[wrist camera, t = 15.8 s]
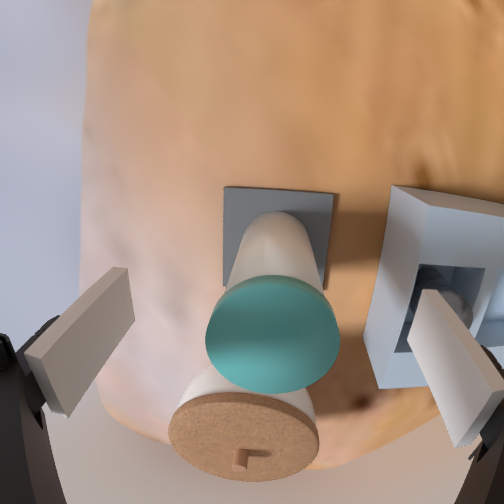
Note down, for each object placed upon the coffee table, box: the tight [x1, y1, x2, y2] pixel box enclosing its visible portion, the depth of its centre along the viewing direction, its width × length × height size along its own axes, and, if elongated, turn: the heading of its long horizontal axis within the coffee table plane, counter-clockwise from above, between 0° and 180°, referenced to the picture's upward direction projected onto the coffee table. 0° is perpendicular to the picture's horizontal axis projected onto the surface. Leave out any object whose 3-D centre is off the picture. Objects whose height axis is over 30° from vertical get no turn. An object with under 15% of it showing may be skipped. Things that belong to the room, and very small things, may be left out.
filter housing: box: [363, 185, 504, 389], centre depth 18 cm, size 12×18×6 cm, turn 88°
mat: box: [223, 187, 334, 287], centre depth 21 cm, size 7×7×1 cm
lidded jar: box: [168, 363, 319, 482], centre depth 22 cm, size 11×11×9 cm
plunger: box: [409, 268, 473, 330], centre depth 17 cm, size 3×3×4 cm
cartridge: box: [205, 211, 340, 394], centre depth 16 cm, size 5×5×11 cm
